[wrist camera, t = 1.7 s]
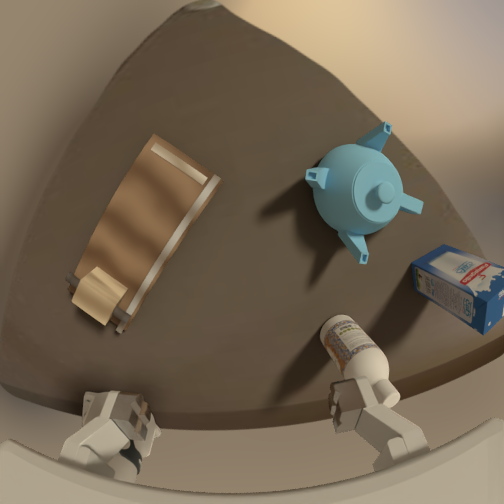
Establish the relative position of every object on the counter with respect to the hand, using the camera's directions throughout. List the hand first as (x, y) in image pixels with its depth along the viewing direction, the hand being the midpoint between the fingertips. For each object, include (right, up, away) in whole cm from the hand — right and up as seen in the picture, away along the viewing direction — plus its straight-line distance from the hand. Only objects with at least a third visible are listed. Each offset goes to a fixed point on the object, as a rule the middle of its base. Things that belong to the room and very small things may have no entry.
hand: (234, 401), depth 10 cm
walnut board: (-16, +8, +28) cm, 34 cm away
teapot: (+16, +16, +31) cm, 38 cm away
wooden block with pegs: (-21, +1, +28) cm, 35 cm away
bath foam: (+16, -8, +37) cm, 41 cm away
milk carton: (+36, +3, +37) cm, 52 cm away
